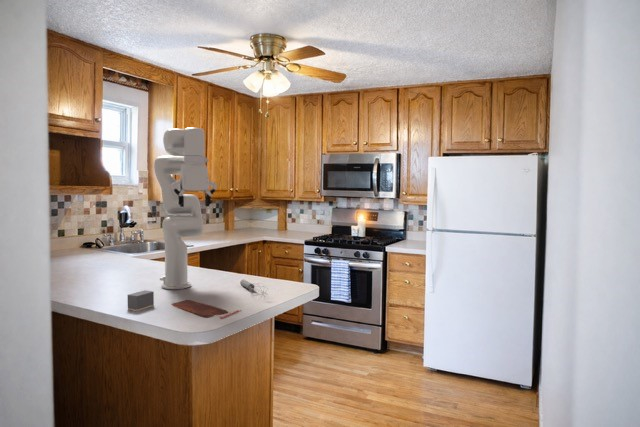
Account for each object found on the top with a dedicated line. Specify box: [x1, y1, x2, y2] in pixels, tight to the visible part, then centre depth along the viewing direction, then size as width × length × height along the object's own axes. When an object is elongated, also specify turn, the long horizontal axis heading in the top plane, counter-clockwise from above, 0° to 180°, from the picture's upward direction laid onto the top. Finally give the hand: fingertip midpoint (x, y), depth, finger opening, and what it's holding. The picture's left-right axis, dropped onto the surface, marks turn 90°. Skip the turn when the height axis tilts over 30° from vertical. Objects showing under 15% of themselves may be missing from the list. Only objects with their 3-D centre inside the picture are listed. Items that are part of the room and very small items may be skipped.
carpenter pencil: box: [219, 308, 242, 320], centre depth 156 cm, size 1×12×1 cm, turn 154°
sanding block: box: [127, 289, 155, 312], centre depth 164 cm, size 4×8×6 cm, turn 155°
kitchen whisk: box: [240, 278, 269, 300], centre depth 190 cm, size 6×34×6 cm, turn 25°
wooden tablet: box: [170, 299, 229, 319], centre depth 164 cm, size 27×10×2 cm, turn 47°
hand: (194, 206), depth 168 cm, fingers open, 9 cm apart
